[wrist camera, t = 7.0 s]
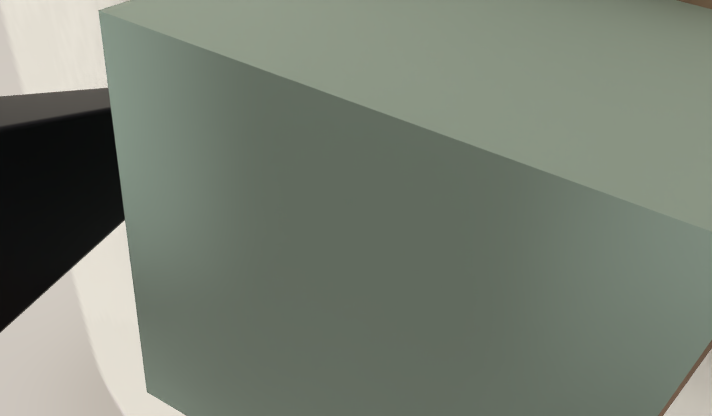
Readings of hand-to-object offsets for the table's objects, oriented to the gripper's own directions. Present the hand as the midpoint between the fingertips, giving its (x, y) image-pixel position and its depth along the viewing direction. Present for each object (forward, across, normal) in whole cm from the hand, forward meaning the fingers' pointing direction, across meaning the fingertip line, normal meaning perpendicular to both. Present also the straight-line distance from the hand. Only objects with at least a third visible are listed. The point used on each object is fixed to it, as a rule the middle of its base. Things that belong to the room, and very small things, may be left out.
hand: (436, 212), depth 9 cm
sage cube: (+3, 0, 0) cm, 3 cm away
